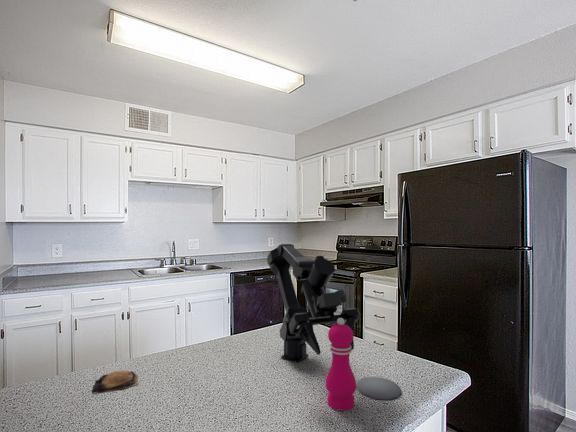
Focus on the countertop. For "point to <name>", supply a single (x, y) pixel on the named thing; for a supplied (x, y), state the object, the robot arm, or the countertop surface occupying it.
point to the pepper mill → (340, 368)
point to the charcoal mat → (378, 388)
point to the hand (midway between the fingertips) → (336, 351)
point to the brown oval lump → (115, 381)
